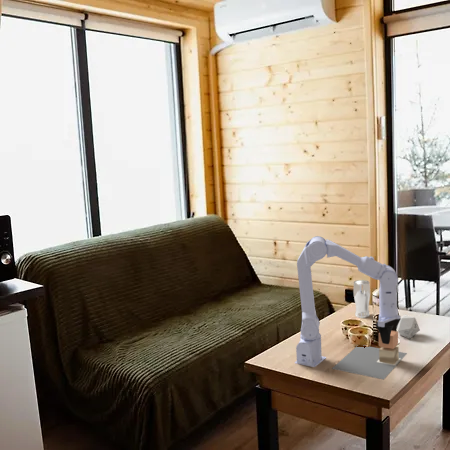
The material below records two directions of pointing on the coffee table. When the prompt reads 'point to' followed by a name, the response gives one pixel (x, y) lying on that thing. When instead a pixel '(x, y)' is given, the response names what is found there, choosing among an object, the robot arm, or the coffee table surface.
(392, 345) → the terracotta block
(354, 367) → the build mat
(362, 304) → the beer glass
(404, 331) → the die
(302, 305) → the robot arm
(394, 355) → the birch block
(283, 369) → the coffee table surface
